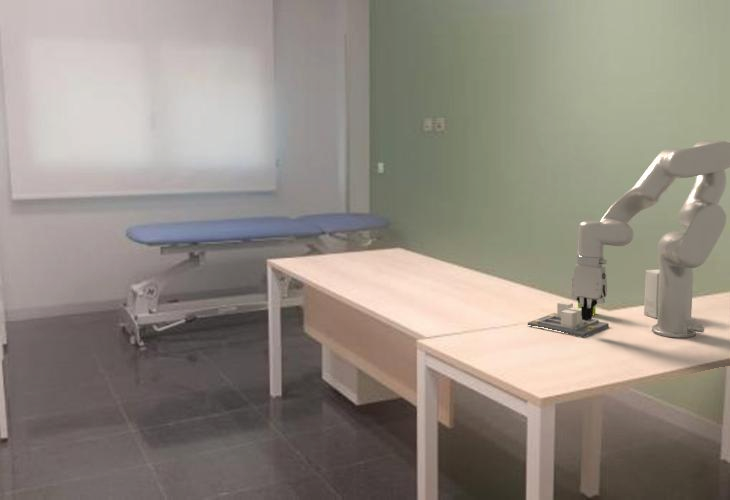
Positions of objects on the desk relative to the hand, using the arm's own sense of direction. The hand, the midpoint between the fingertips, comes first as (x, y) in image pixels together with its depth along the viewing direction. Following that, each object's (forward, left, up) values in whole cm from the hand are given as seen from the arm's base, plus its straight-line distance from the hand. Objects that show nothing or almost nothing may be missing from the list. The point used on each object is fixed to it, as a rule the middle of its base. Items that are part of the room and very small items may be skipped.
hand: (586, 319), depth 212 cm
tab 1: (+13, -10, -4) cm, 17 cm away
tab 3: (+6, -5, -4) cm, 9 cm away
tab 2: (+6, -1, -4) cm, 8 cm away
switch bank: (+9, -5, -5) cm, 12 cm away
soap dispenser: (+12, -23, -5) cm, 27 cm away
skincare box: (-7, -37, -5) cm, 38 cm away
